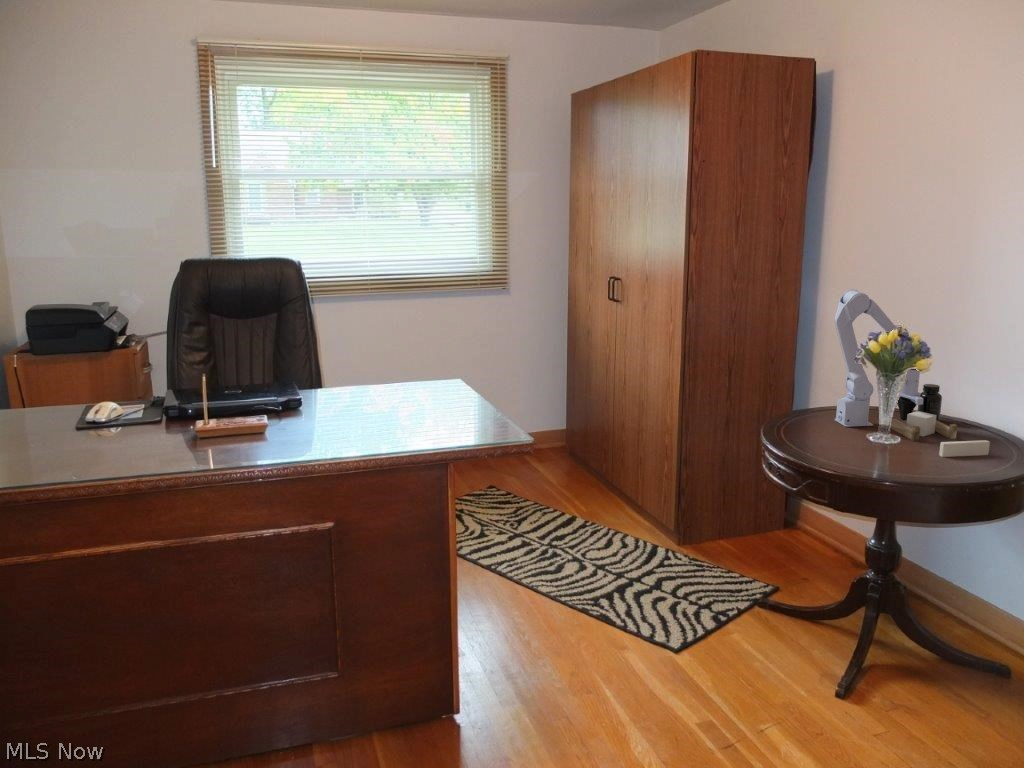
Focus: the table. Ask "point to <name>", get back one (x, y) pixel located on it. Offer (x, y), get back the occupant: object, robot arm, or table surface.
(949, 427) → the chute
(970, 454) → the board
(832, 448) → the table surface
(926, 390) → the supplement bottle
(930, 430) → the beige cube
